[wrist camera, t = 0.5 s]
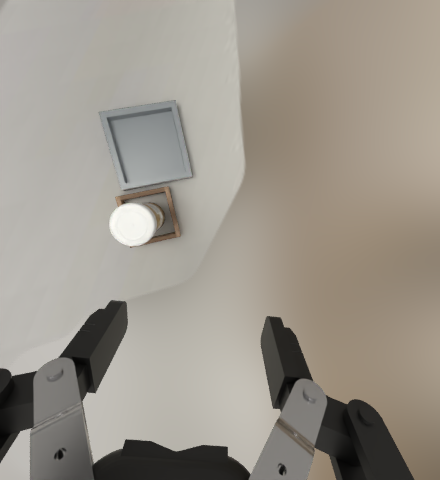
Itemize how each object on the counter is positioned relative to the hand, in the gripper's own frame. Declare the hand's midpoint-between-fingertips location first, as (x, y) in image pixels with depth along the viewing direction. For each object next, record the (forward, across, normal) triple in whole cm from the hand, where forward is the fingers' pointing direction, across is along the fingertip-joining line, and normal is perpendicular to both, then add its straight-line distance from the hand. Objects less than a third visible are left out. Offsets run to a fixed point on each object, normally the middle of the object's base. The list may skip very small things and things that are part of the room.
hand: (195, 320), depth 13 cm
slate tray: (+27, +10, -7) cm, 30 cm away
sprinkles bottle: (+24, +10, +3) cm, 26 cm away
